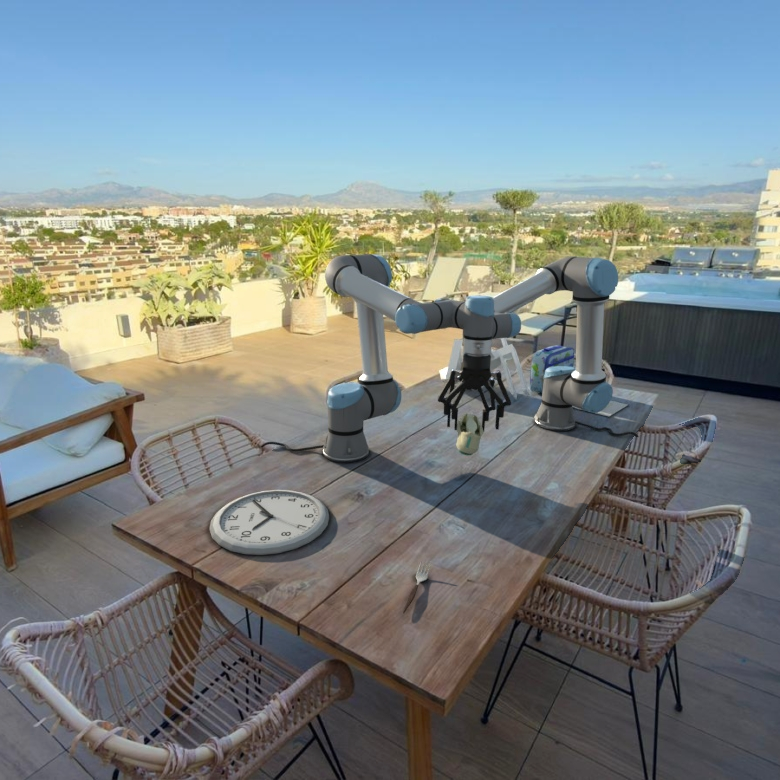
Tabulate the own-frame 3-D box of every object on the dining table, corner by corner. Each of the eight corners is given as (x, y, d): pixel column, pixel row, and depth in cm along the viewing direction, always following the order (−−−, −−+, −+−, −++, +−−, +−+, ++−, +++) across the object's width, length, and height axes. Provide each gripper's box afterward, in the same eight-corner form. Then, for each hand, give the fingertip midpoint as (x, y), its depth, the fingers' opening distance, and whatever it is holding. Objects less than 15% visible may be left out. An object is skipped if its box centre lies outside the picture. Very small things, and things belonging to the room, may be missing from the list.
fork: (396, 613, 103) (397, 605, 102) (420, 566, 117) (420, 559, 117) (409, 617, 102) (409, 608, 102) (431, 569, 116) (432, 561, 116)
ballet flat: (481, 426, 170) (483, 403, 167) (485, 458, 146) (487, 431, 144) (455, 425, 171) (457, 402, 168) (455, 456, 147) (457, 430, 145)
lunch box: (546, 398, 236) (551, 353, 229) (525, 393, 243) (529, 349, 237) (573, 387, 253) (579, 344, 247) (553, 382, 260) (558, 341, 254)
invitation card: (608, 416, 214) (573, 407, 224) (608, 416, 214) (573, 408, 224) (628, 404, 229) (594, 396, 238) (628, 405, 229) (594, 397, 238)
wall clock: (327, 546, 121) (194, 551, 119) (327, 552, 122) (195, 557, 119) (330, 485, 150) (223, 488, 147) (330, 490, 150) (224, 493, 148)
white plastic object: (461, 429, 252) (437, 405, 227) (444, 352, 274) (420, 323, 250) (535, 404, 240) (518, 377, 215) (510, 326, 262) (492, 293, 237)
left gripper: (430, 354, 140) (428, 428, 146) (525, 358, 137) (518, 433, 143) (431, 348, 147) (429, 419, 153) (522, 352, 144) (515, 424, 151)
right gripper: (439, 361, 157) (436, 431, 164) (509, 364, 155) (503, 435, 161) (439, 355, 164) (436, 423, 171) (507, 358, 162) (501, 426, 169)
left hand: (472, 426), depth 148 cm, fingers open, 13 cm apart
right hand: (469, 429), depth 166 cm, fingers closed on ballet flat, 8 cm apart
